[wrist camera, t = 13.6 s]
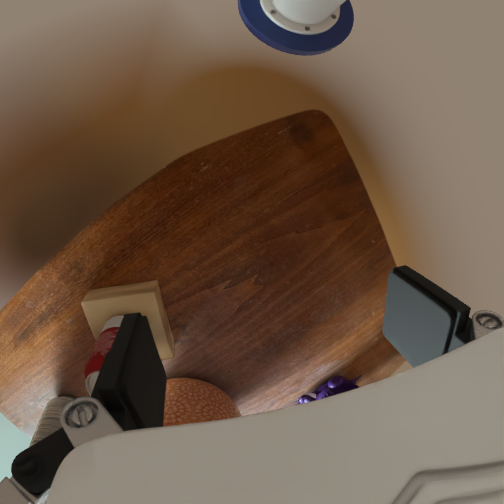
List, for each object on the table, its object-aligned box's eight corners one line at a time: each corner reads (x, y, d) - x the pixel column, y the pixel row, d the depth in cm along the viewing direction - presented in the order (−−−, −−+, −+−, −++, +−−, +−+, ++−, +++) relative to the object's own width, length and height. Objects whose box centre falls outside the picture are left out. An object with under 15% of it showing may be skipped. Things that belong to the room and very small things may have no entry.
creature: (271, 409, 52) (286, 458, 41) (350, 358, 51) (380, 401, 40) (294, 427, 55) (310, 471, 44) (366, 380, 54) (393, 419, 43)
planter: (144, 343, 44) (124, 437, 26) (262, 378, 49) (288, 466, 31) (120, 418, 48) (106, 497, 30) (217, 443, 54) (227, 518, 36)
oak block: (89, 289, 40) (80, 302, 36) (158, 279, 41) (154, 291, 37) (111, 350, 43) (105, 365, 39) (174, 343, 44) (173, 359, 41)
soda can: (99, 312, 37) (71, 366, 25) (146, 310, 38) (129, 367, 26) (111, 352, 39) (91, 410, 28) (154, 351, 40) (145, 412, 29)
